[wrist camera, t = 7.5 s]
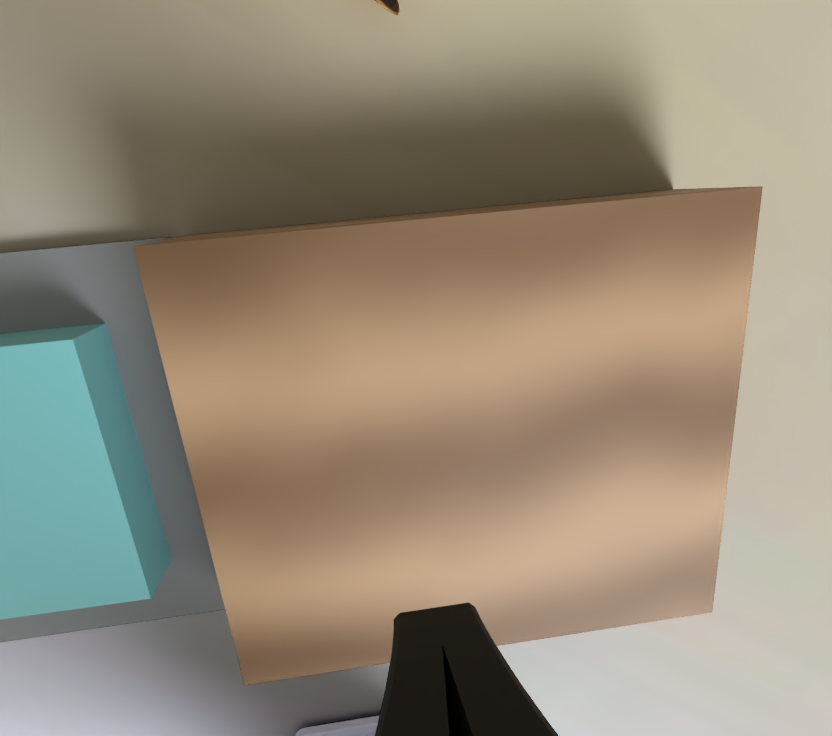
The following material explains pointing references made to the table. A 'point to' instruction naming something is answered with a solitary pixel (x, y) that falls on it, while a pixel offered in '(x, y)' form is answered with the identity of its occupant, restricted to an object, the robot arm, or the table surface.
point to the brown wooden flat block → (458, 415)
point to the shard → (390, 5)
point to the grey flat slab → (149, 405)
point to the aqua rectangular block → (71, 478)
